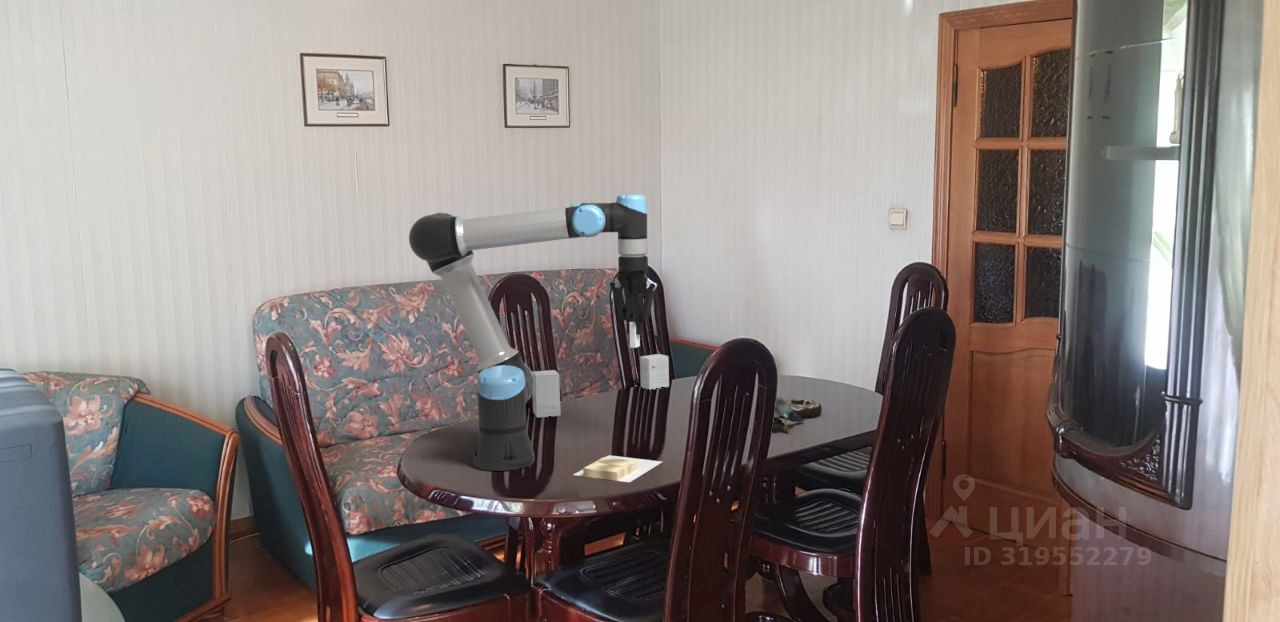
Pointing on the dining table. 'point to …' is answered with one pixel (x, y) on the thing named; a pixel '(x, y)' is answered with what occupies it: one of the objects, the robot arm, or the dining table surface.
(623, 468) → the birch slab
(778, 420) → the bird figurine
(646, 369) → the small box
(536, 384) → the supplement box
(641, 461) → the rubber mat
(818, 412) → the donut
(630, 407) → the dining table surface
